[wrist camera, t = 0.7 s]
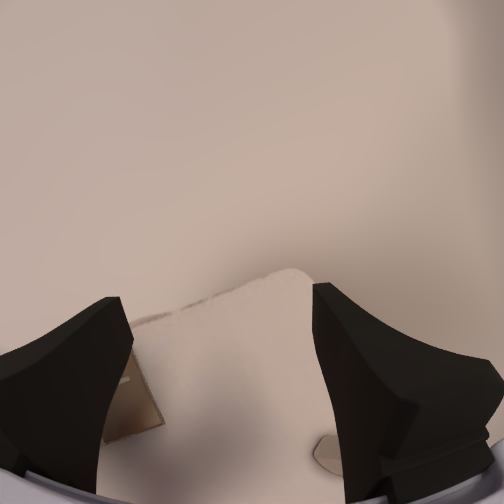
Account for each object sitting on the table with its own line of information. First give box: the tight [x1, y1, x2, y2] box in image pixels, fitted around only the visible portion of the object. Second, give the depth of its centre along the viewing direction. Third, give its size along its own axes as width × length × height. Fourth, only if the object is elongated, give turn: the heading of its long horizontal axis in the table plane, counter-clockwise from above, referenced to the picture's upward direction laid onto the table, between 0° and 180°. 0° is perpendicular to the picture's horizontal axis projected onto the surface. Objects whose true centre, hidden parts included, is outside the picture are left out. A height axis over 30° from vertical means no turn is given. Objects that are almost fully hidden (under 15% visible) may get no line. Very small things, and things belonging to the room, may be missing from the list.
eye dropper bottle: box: [314, 435, 343, 476], centre depth 17 cm, size 4×6×12 cm
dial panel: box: [100, 349, 165, 446], centre depth 19 cm, size 10×8×3 cm
